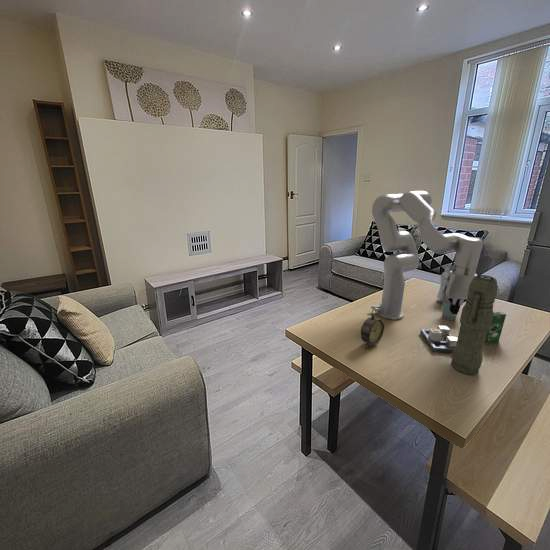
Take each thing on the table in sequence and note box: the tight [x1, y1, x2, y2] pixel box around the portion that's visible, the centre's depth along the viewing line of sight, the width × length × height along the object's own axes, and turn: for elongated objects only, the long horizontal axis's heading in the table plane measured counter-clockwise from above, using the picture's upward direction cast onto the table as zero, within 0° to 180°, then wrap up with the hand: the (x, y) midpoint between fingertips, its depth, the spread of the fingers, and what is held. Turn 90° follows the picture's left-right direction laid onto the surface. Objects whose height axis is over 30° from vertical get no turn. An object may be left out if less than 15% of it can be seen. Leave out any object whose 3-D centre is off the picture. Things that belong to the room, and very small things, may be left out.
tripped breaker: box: [428, 328, 442, 341], centre depth 120 cm, size 4×3×5 cm
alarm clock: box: [360, 309, 385, 350], centre depth 119 cm, size 11×5×16 cm, turn 129°
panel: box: [419, 324, 458, 355], centre depth 120 cm, size 11×15×5 cm
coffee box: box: [484, 311, 507, 345], centre depth 120 cm, size 8×3×13 cm, turn 106°
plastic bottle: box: [436, 266, 452, 303], centre depth 159 cm, size 6×7×20 cm
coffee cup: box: [441, 298, 462, 321], centre depth 142 cm, size 9×8×12 cm
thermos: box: [450, 274, 499, 377], centre depth 100 cm, size 9×12×35 cm
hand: (453, 312), depth 117 cm, fingers closed
